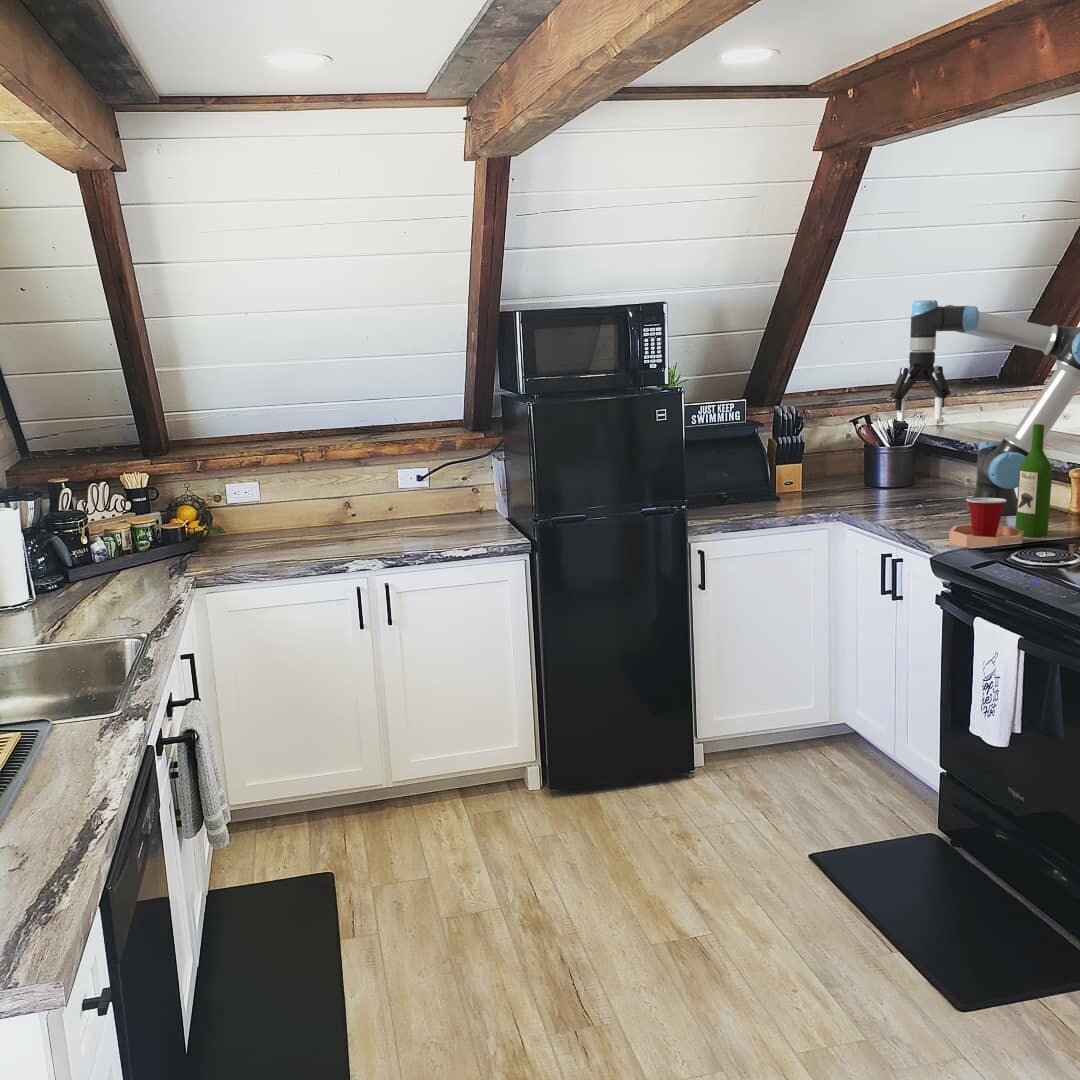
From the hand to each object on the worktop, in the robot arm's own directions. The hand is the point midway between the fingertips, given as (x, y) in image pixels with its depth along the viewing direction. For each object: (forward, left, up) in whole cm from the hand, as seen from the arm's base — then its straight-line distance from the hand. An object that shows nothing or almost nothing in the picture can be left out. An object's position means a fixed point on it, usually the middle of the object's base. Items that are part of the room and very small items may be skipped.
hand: (919, 419), depth 352 cm
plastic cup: (+2, +37, -31) cm, 48 cm away
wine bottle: (-17, +33, -32) cm, 49 cm away
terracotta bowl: (+2, +37, -32) cm, 49 cm away
